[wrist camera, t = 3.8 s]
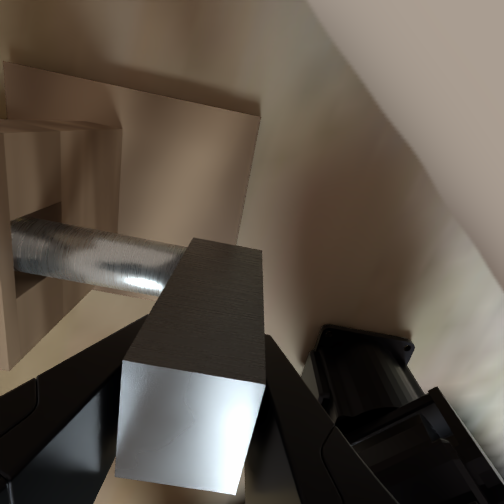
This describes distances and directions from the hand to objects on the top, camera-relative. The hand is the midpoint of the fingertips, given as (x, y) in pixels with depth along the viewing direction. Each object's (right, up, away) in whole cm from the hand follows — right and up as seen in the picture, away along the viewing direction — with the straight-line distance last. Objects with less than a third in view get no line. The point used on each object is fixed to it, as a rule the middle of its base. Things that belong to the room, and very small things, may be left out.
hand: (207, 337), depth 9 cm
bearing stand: (-6, +5, +10) cm, 13 cm away
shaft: (-4, +2, +4) cm, 6 cm away
